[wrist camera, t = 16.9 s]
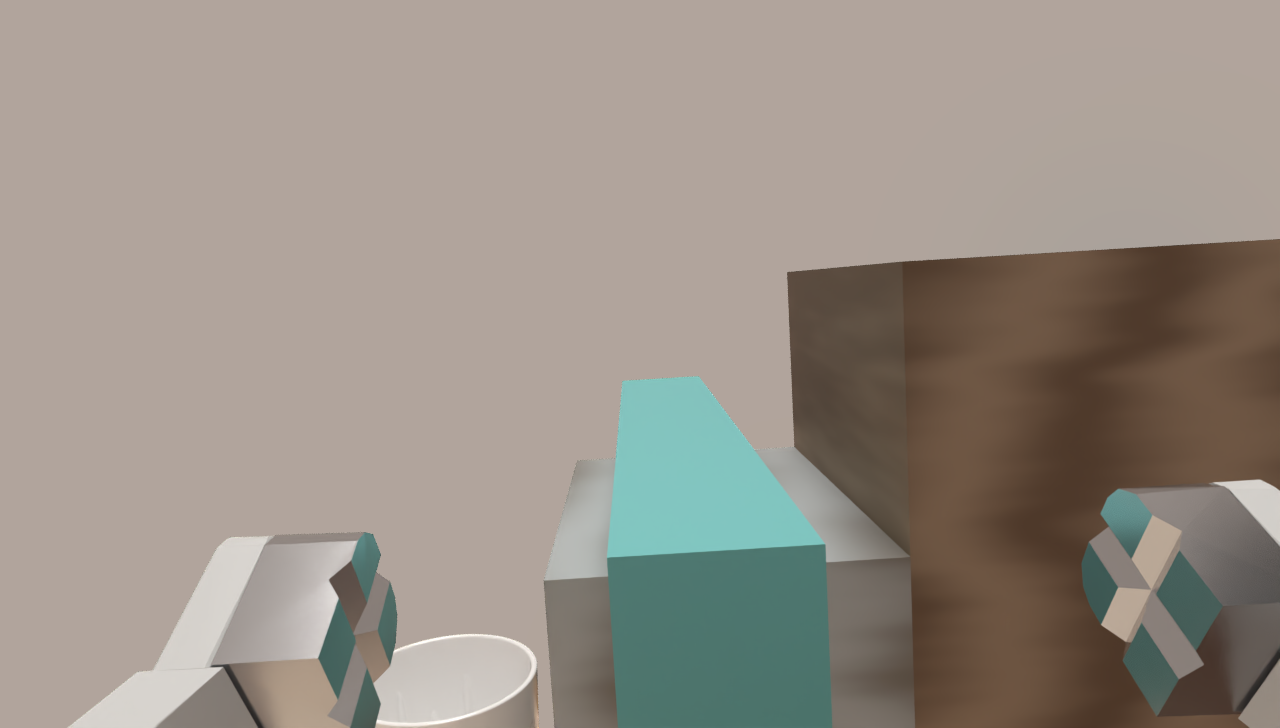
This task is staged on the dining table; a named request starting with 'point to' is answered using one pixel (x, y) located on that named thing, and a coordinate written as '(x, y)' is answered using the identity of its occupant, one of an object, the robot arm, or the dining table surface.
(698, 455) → the teal bar
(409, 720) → the white cup
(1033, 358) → the stand
